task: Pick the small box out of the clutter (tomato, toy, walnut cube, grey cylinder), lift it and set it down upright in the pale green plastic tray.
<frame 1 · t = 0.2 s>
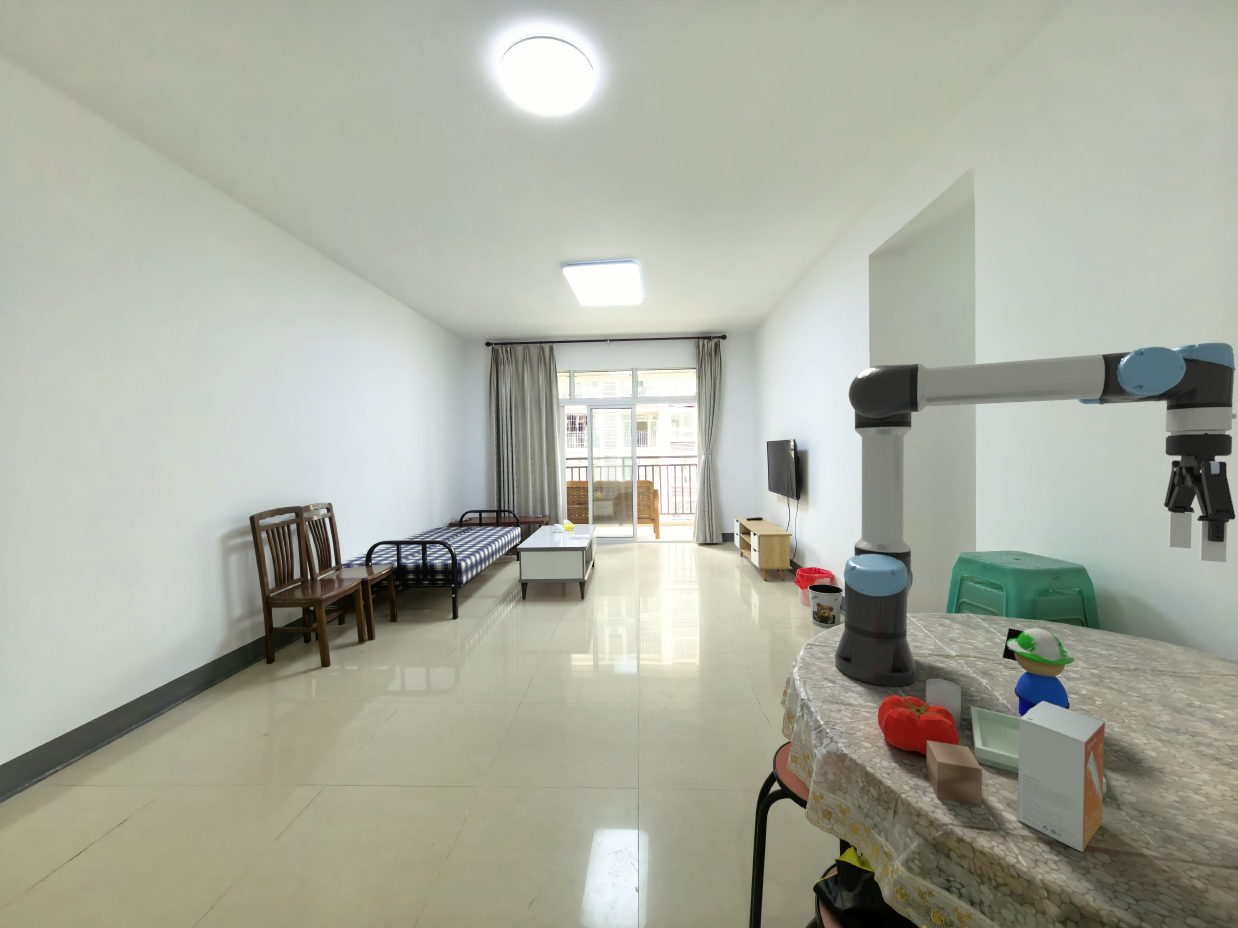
hand: (1194, 553, 86), 28 cm above the table, fingers open, 13 cm apart
small box: (1059, 824, 61), on the table
toy: (1038, 715, 85), on the table
walnut cube: (952, 789, 67), on the table
grey cylinder: (942, 719, 84), on the table
tray: (1029, 752, 75), on the table
tomato: (916, 747, 77), on the table
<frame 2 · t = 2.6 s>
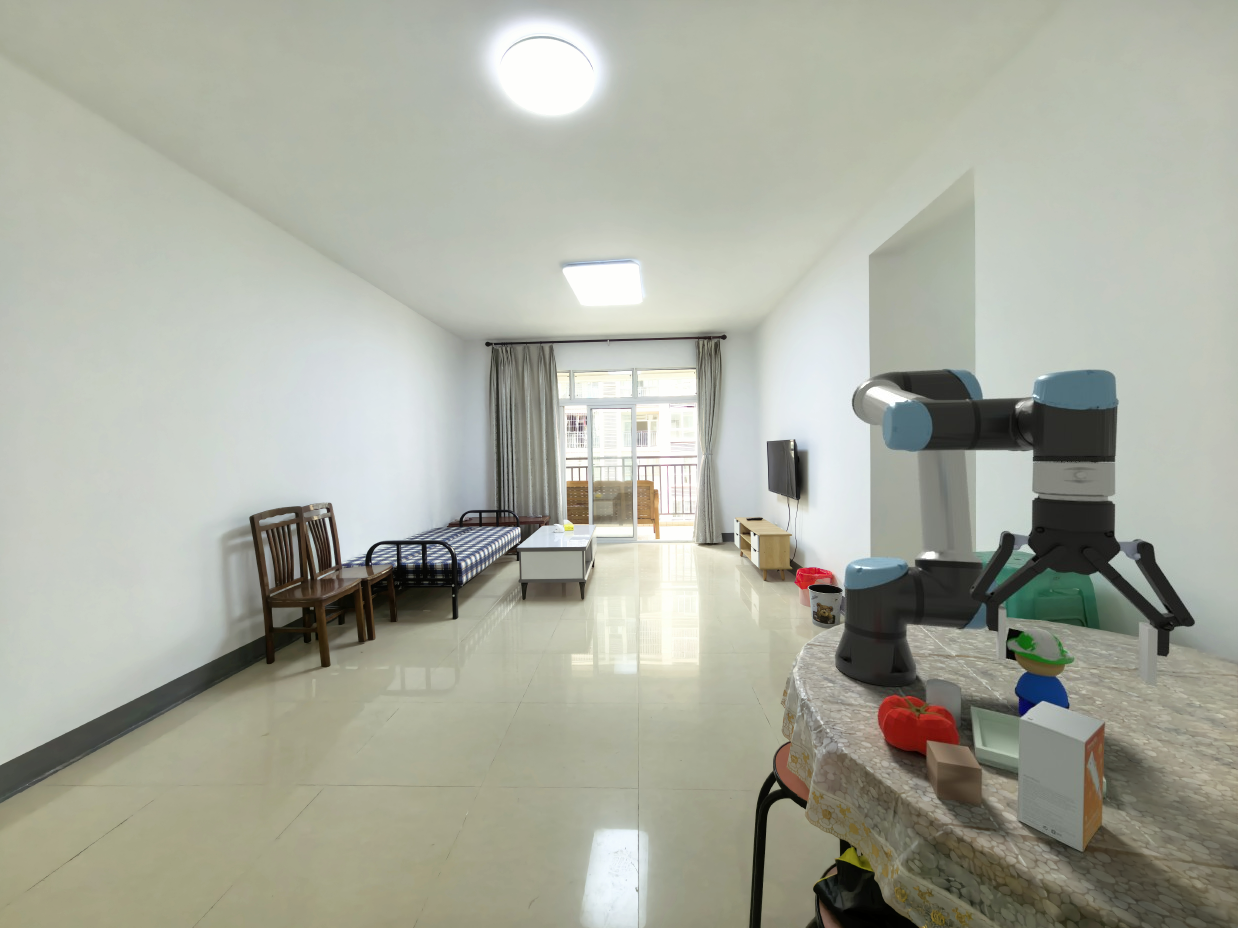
hand: (1069, 668, 61), 19 cm above the table, fingers open, 13 cm apart
nothing on the table moved.
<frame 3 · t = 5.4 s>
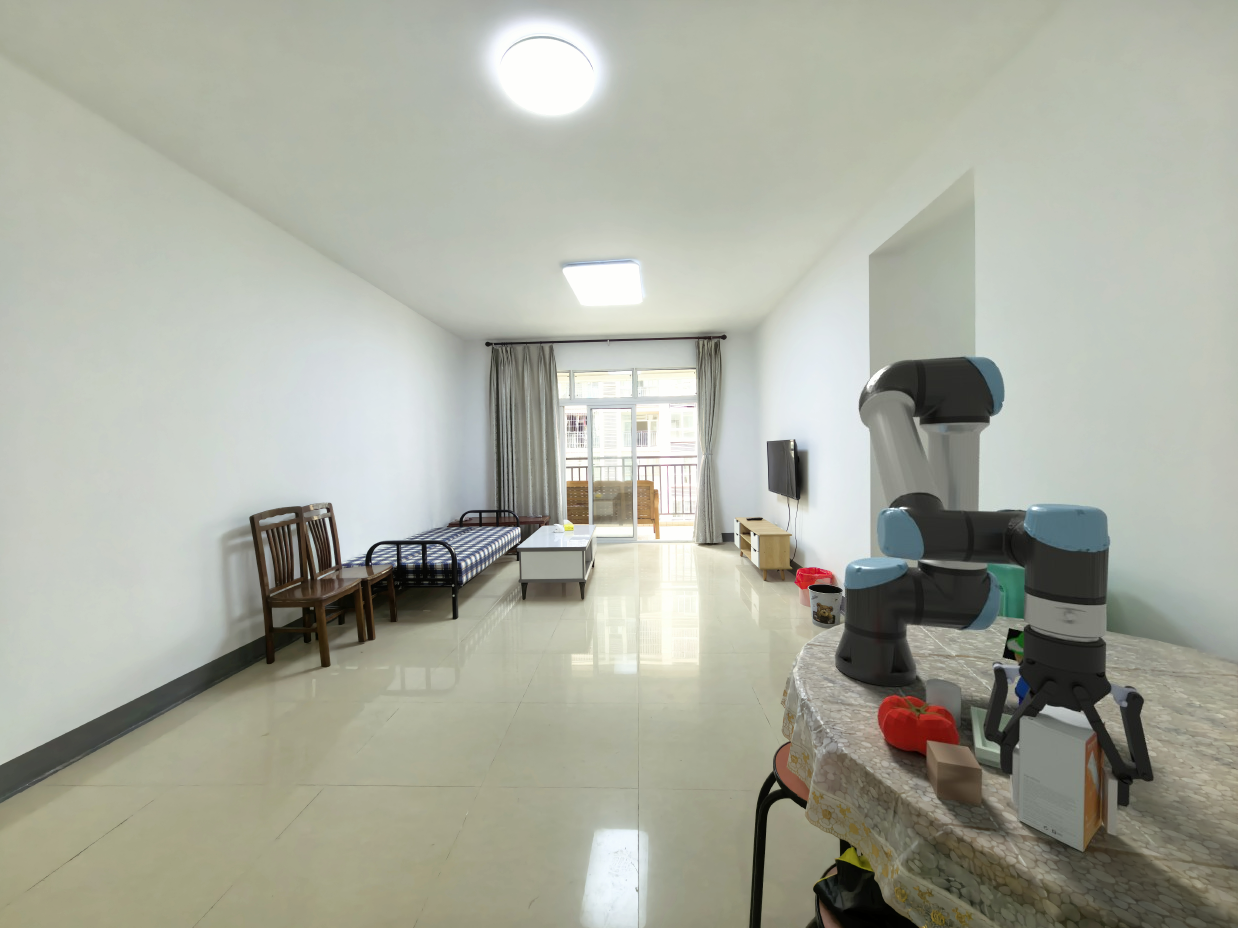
hand: (1059, 811, 61), 1 cm above the table, fingers closed on small box, 8 cm apart
small box: (1060, 823, 61), on the table, touching gripper
everything else where it was.
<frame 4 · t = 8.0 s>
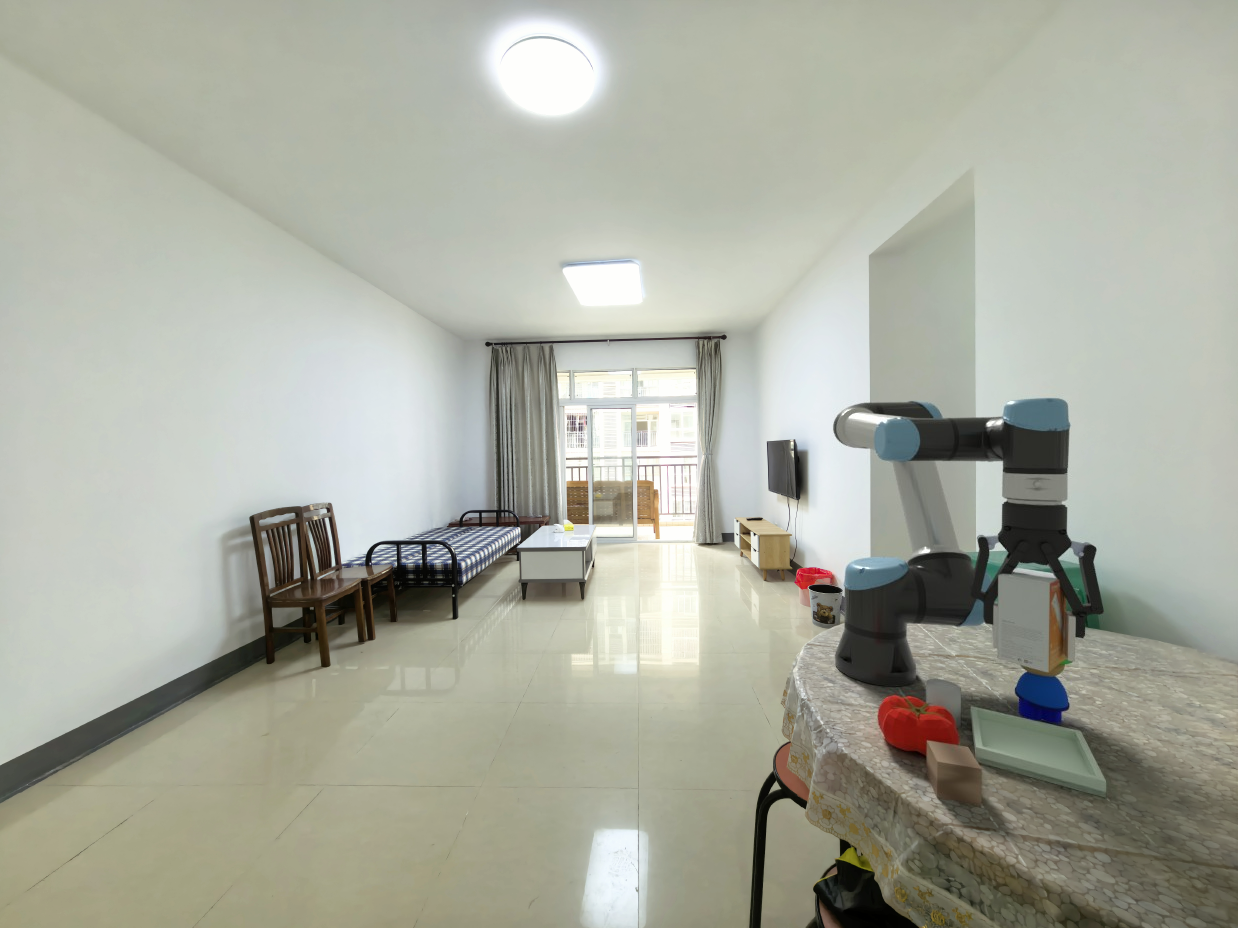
hand: (1031, 650, 74), 16 cm above the table, fingers closed on small box, 8 cm apart
small box: (1031, 660, 74), point 14 cm above the table, touching gripper
everything else where it was.
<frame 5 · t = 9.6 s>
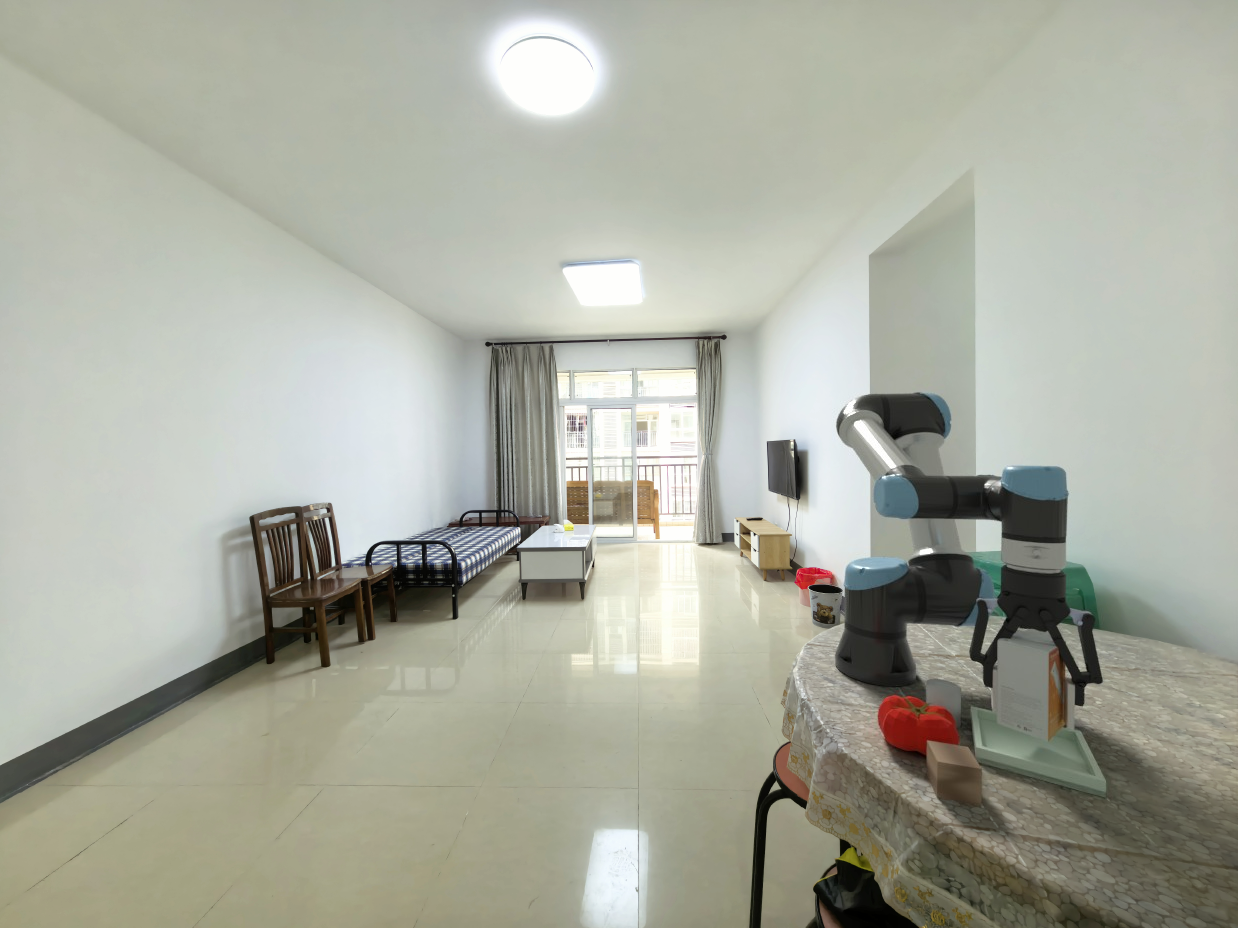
hand: (1030, 716, 74), 6 cm above the table, fingers closed on small box, 8 cm apart
small box: (1031, 726, 74), point 4 cm above the table, touching gripper
everything else where it was.
when the fingers open (4 cm above the table, at t = 10.9 s): small box drops 2 cm, resting on tray.
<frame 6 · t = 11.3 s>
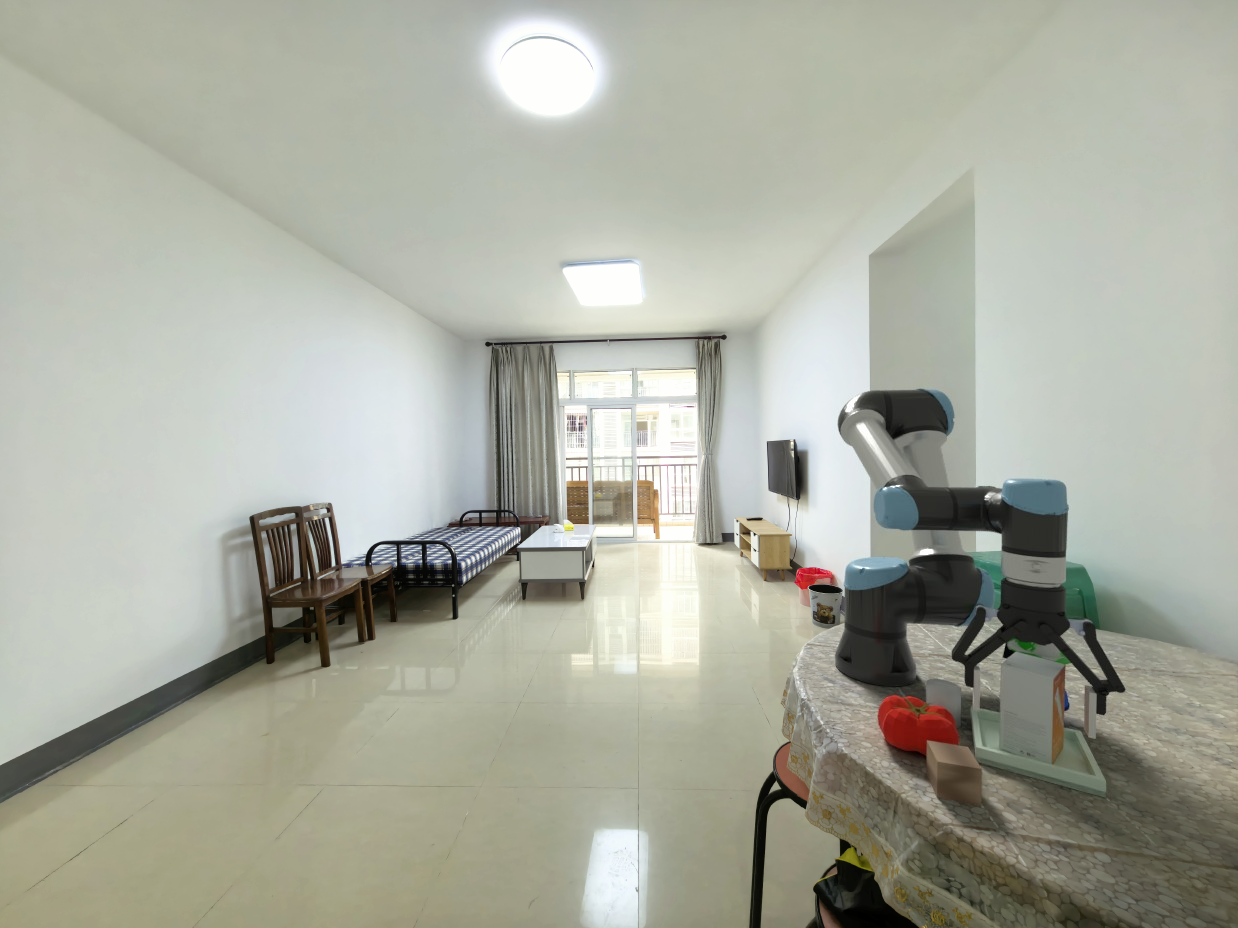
hand: (1030, 720, 74), 5 cm above the table, fingers open, 13 cm apart
small box: (1031, 749, 74), point 1 cm above the table, touching tray
everything else where it was.
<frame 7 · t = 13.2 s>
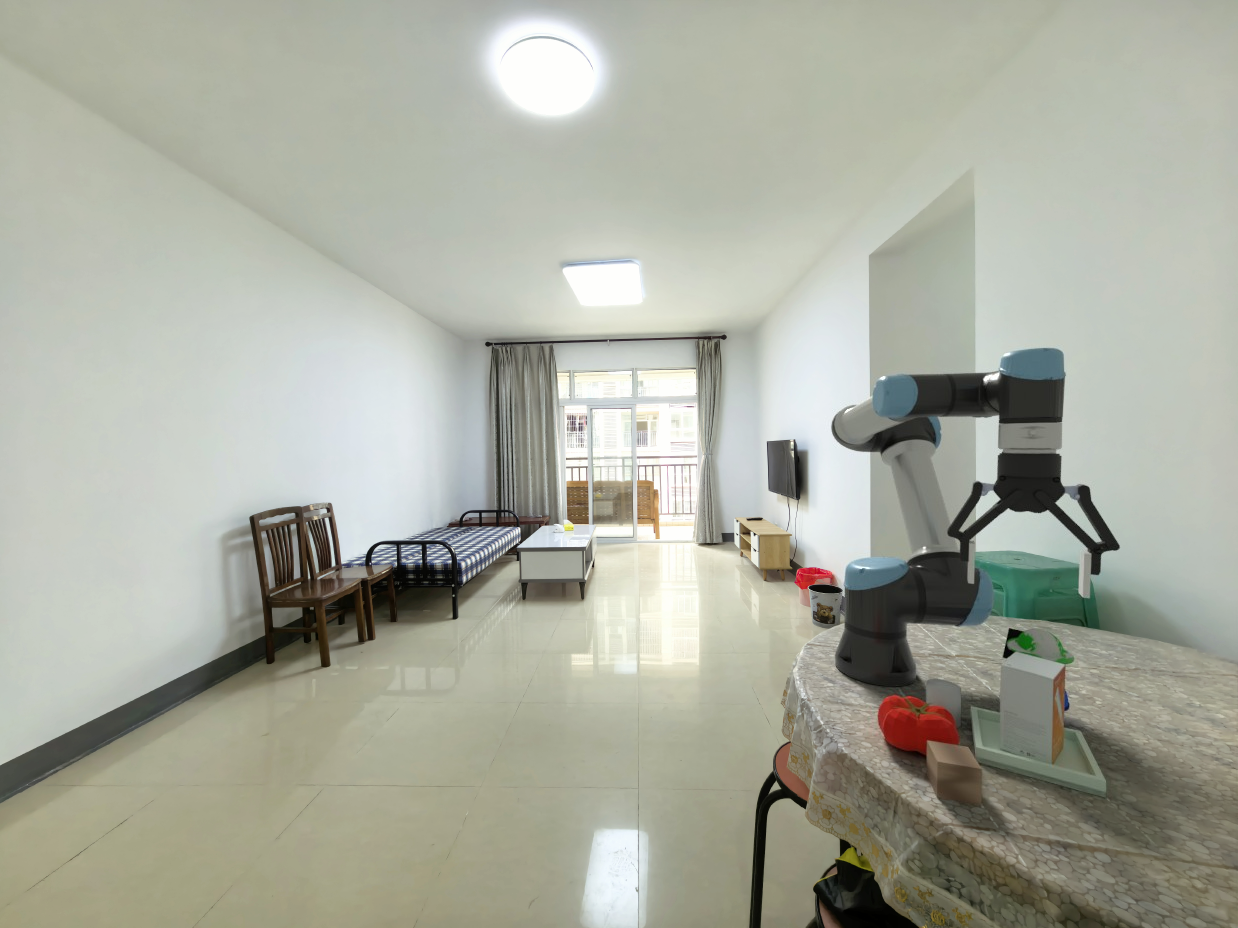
hand: (1024, 588, 76), 25 cm above the table, fingers open, 13 cm apart
nothing on the table moved.
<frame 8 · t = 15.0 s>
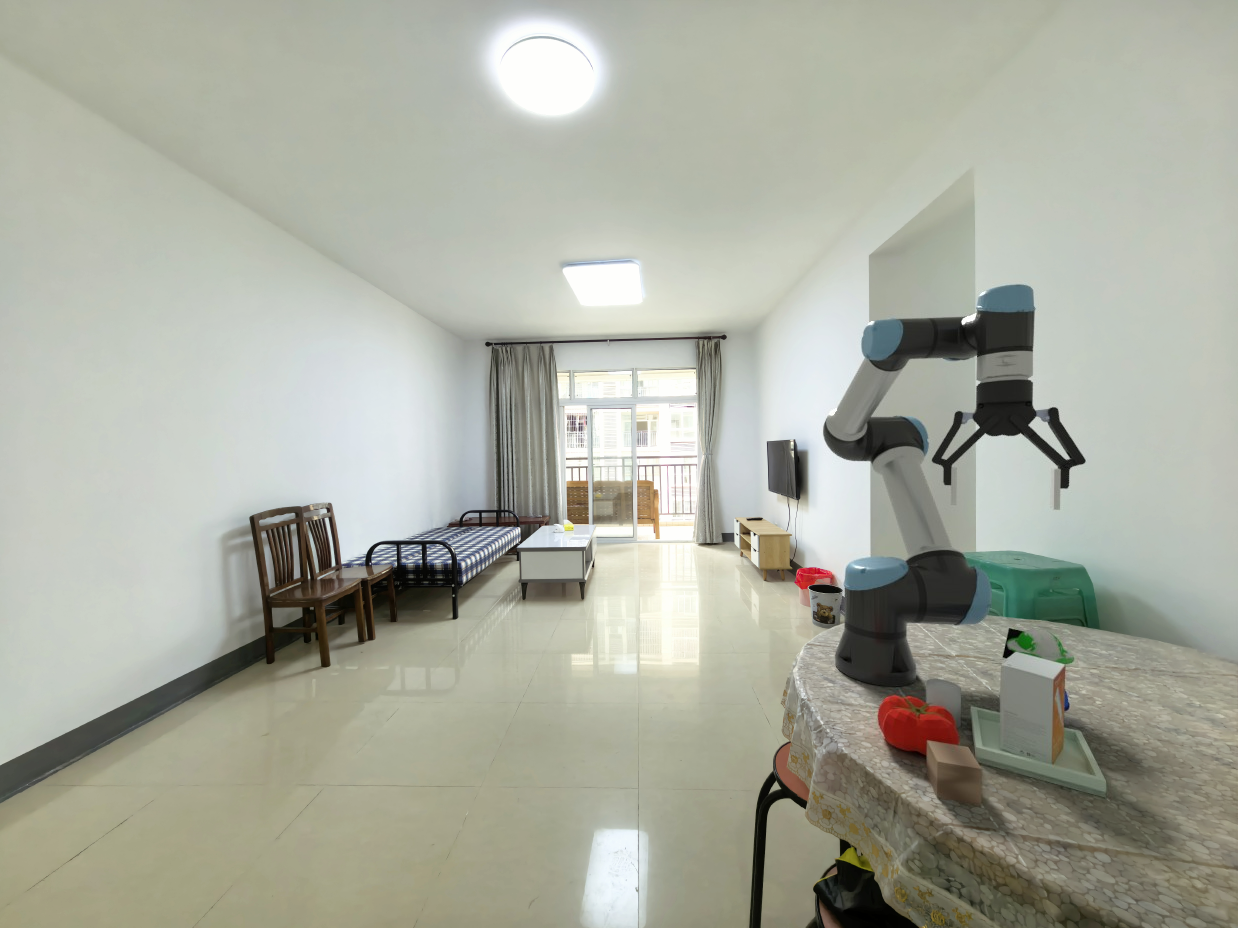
hand: (1001, 506, 83), 37 cm above the table, fingers open, 13 cm apart
nothing on the table moved.
at the end: small box inside the target area on the tray (0.2 cm from its centre), point 0.6 cm above the tray's base; small box tilted 0°; the gripper is holding nothing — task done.
